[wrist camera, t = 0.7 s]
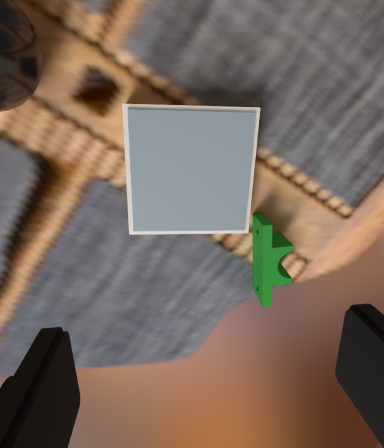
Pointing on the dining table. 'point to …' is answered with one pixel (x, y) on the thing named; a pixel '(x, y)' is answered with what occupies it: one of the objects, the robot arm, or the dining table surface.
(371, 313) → the robot arm
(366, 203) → the dining table surface
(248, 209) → the stand
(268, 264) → the pipe clamp
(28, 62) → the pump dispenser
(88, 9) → the dining table surface
